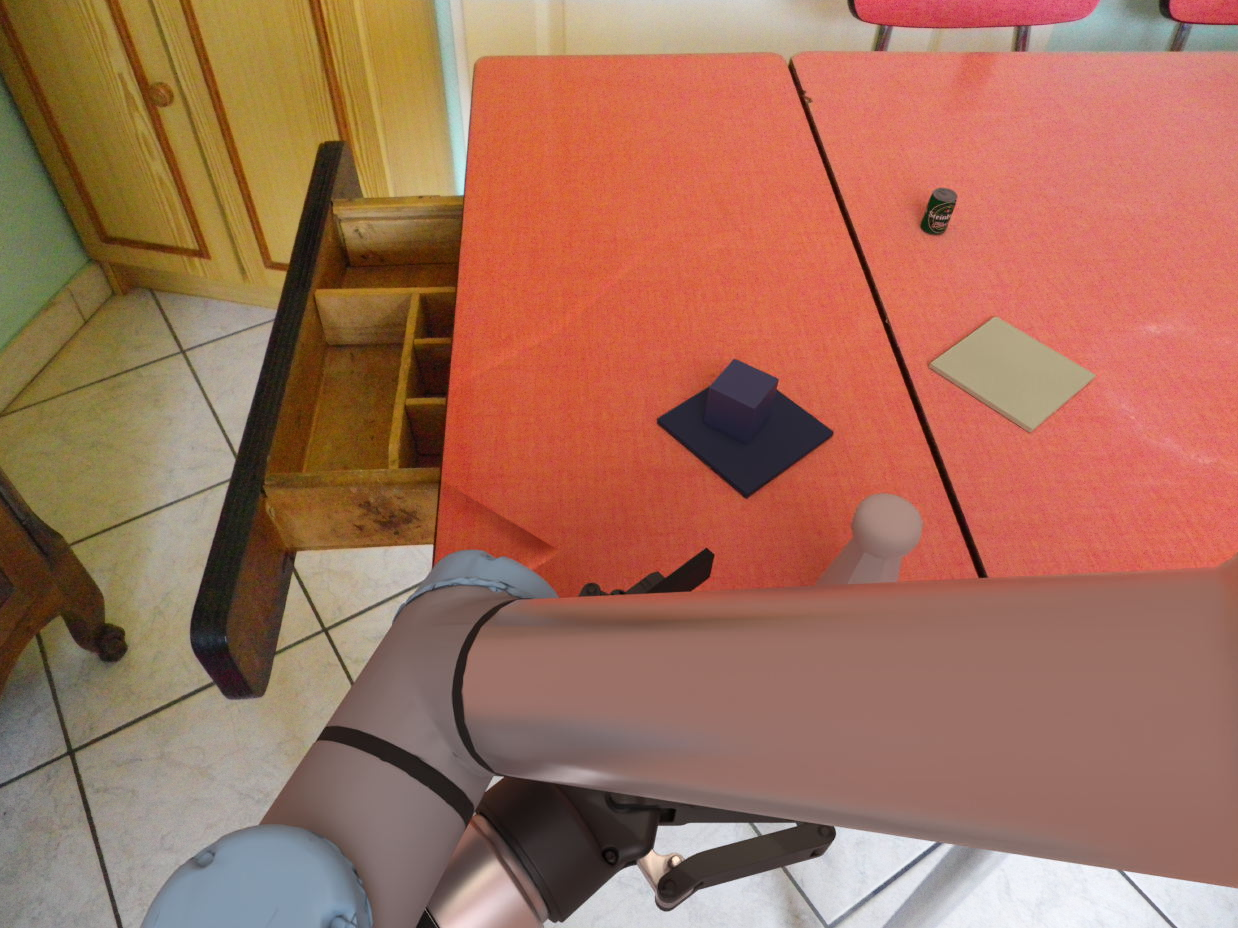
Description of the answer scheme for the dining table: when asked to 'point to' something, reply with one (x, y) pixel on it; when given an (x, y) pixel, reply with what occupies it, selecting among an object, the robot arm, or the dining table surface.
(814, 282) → the dining table surface
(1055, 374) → the light mat
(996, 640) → the robot arm
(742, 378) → the navy block
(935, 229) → the beer can
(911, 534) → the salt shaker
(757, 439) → the dark mat
